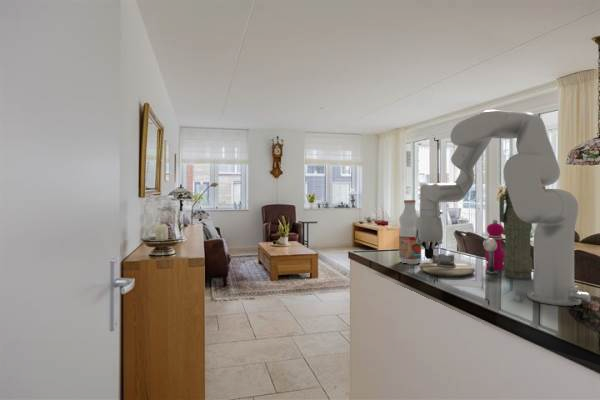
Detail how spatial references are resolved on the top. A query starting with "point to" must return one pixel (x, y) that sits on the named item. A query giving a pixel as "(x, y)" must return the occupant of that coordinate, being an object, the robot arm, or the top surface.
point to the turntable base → (446, 275)
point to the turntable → (458, 270)
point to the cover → (446, 261)
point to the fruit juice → (409, 235)
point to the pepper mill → (495, 233)
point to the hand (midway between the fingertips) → (428, 258)
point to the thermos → (515, 242)
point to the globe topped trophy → (490, 253)
